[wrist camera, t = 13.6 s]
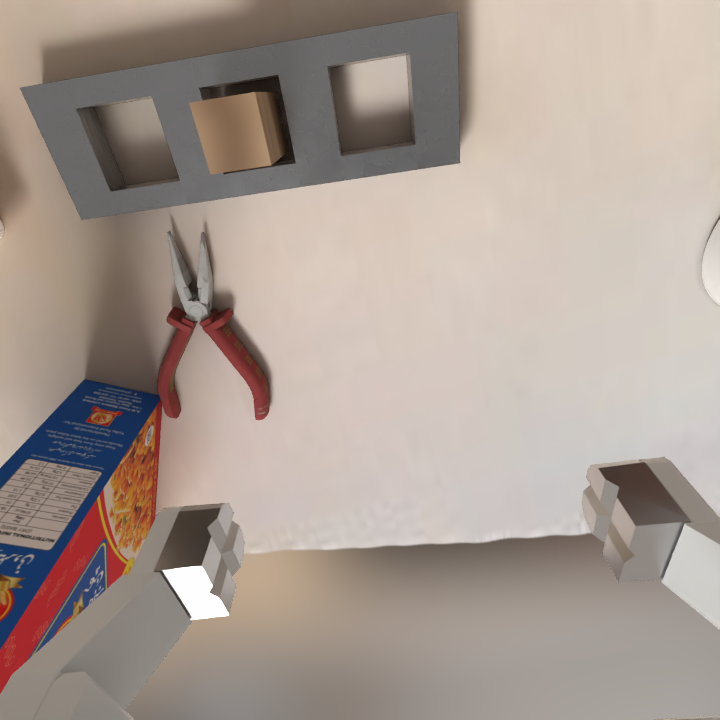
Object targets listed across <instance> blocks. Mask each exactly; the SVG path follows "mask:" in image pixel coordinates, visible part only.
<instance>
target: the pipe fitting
mask: <svg viewBox="0 0 720 720" xmlns="http://www.w3.org/2000/svg"><path fill="white" fill-rule="evenodd" d="M3 234H4V226H3V223H2V221H1V219H0V239H1V237H2V236H3Z"/></svg>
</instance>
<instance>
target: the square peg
mask: <svg viewBox="0 0 720 720" xmlns="http://www.w3.org/2000/svg"><path fill="white" fill-rule="evenodd" d="M189 104H190V107H191V111H192V114H193V117H194V121H195V124H196V128H197V131H198V134H199V138H200V141H201V144H202V148H203V151H204V154H205V158H206V161H207V165H208V168H209V171H210V175H211V174H218V173H224V172H231V171H238V170H244V169H251V168H257V167H264V166H270V165H272V164H274V163H275V162H276V161H277V160H278V159H280V158H281V157H282V156H283V155H284V154H285V153H287V152H288V146H287V141H286V136H285V131H284V126H283V121H282V116H281V112H280V107H279V102H278V97H277V92H251V93H245V94H239V95H233V96H227V97H221V98H215V99H209V100H203V101H197V102H190V103H189Z"/></svg>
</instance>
